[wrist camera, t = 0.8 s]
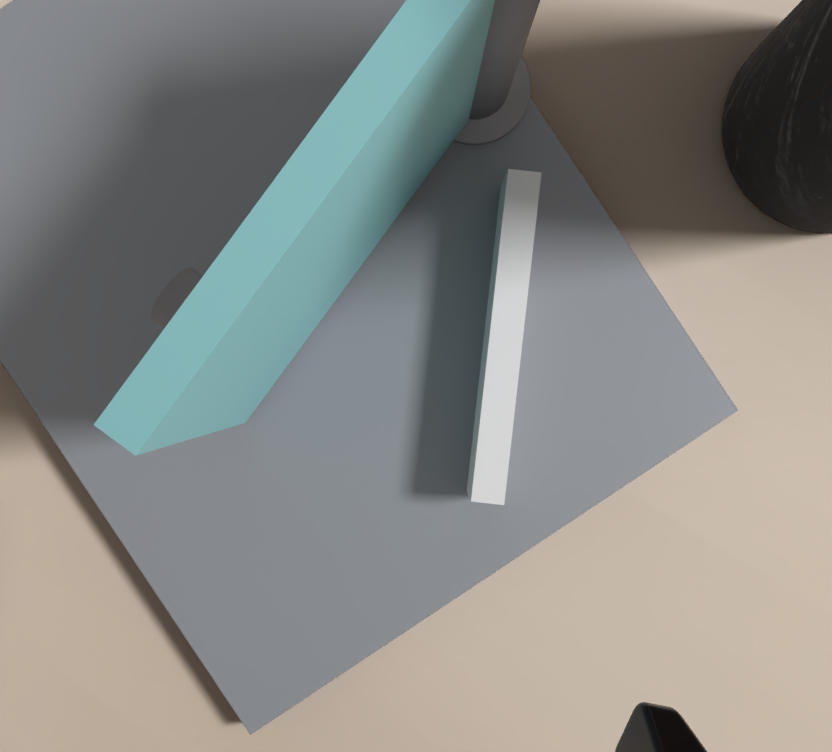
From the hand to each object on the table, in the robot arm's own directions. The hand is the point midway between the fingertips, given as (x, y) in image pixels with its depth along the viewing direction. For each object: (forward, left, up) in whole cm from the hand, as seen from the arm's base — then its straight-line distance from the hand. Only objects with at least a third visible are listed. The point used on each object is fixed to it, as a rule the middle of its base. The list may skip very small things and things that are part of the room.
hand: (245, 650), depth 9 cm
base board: (+2, +7, -18) cm, 19 cm away
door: (+4, +7, -16) cm, 18 cm away
